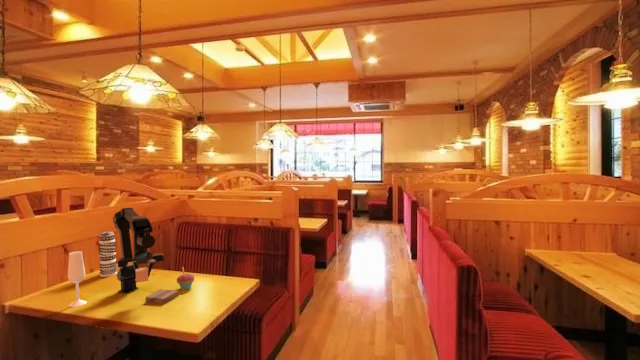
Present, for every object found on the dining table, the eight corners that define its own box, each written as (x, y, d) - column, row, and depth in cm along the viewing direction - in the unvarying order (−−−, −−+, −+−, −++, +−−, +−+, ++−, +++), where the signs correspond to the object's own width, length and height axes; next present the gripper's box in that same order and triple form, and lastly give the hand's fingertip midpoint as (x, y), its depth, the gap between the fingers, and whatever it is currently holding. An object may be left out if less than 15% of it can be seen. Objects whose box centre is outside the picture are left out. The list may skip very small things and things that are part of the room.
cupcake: (188, 291, 169) (187, 268, 168) (173, 290, 171) (172, 267, 170) (197, 285, 177) (197, 263, 177) (183, 284, 179) (182, 262, 178)
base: (145, 302, 156) (145, 297, 156) (160, 294, 166) (160, 289, 166) (164, 304, 154) (164, 298, 154) (178, 295, 163) (178, 290, 163)
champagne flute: (76, 300, 159) (74, 250, 158) (90, 300, 159) (88, 250, 158) (65, 306, 152) (62, 254, 151) (79, 306, 152) (77, 254, 151)
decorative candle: (103, 277, 191) (102, 234, 190) (96, 275, 196) (94, 232, 195) (120, 273, 199) (118, 231, 198) (112, 270, 204) (111, 230, 203)
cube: (136, 282, 153) (135, 271, 153) (135, 279, 157) (135, 269, 157) (148, 280, 156) (147, 270, 155) (147, 277, 160) (147, 267, 160)
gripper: (116, 251, 144) (118, 287, 145) (164, 245, 153) (165, 279, 154) (117, 246, 154) (119, 279, 155) (162, 241, 163) (163, 272, 164)
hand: (142, 277), depth 157 cm, fingers closed on cube, 5 cm apart
